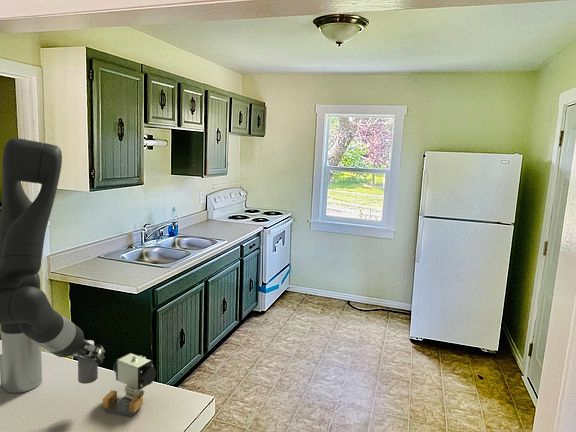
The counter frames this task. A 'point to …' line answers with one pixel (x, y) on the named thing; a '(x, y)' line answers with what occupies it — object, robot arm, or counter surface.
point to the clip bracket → (121, 404)
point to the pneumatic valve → (134, 373)
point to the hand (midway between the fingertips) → (92, 358)
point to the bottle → (87, 369)
